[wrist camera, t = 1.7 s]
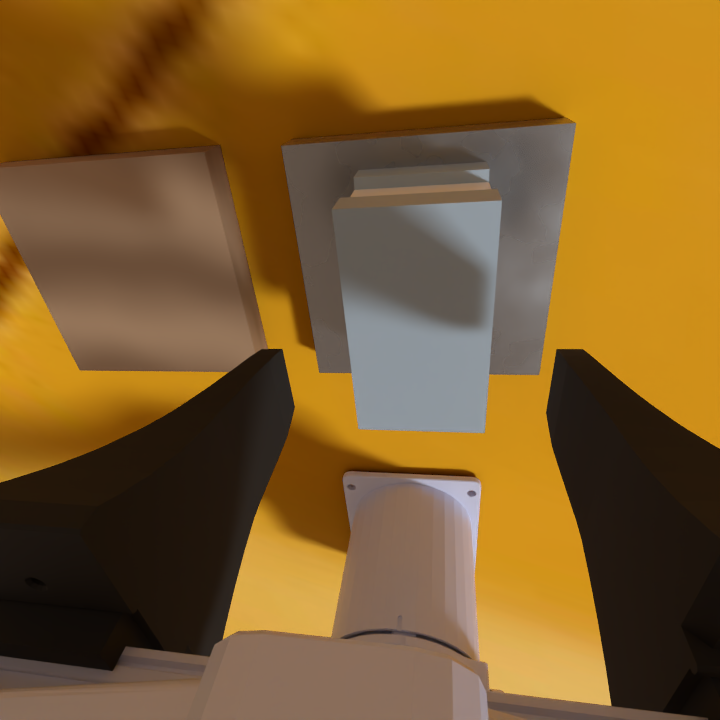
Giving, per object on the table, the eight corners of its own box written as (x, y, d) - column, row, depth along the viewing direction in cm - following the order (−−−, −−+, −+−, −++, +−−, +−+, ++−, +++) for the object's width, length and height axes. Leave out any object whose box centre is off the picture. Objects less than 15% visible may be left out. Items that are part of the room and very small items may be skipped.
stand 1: (269, 355, 24) (259, 372, 23) (97, 354, 26) (79, 370, 24) (220, 145, 18) (204, 151, 17) (5, 162, 20) (-23, 169, 19)
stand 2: (533, 356, 22) (539, 374, 20) (325, 355, 23) (319, 372, 22) (565, 117, 16) (576, 122, 15) (292, 139, 18) (281, 145, 17)
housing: (476, 355, 20) (484, 432, 16) (374, 355, 21) (358, 428, 17) (486, 161, 16) (502, 200, 12) (358, 170, 17) (331, 209, 13)
